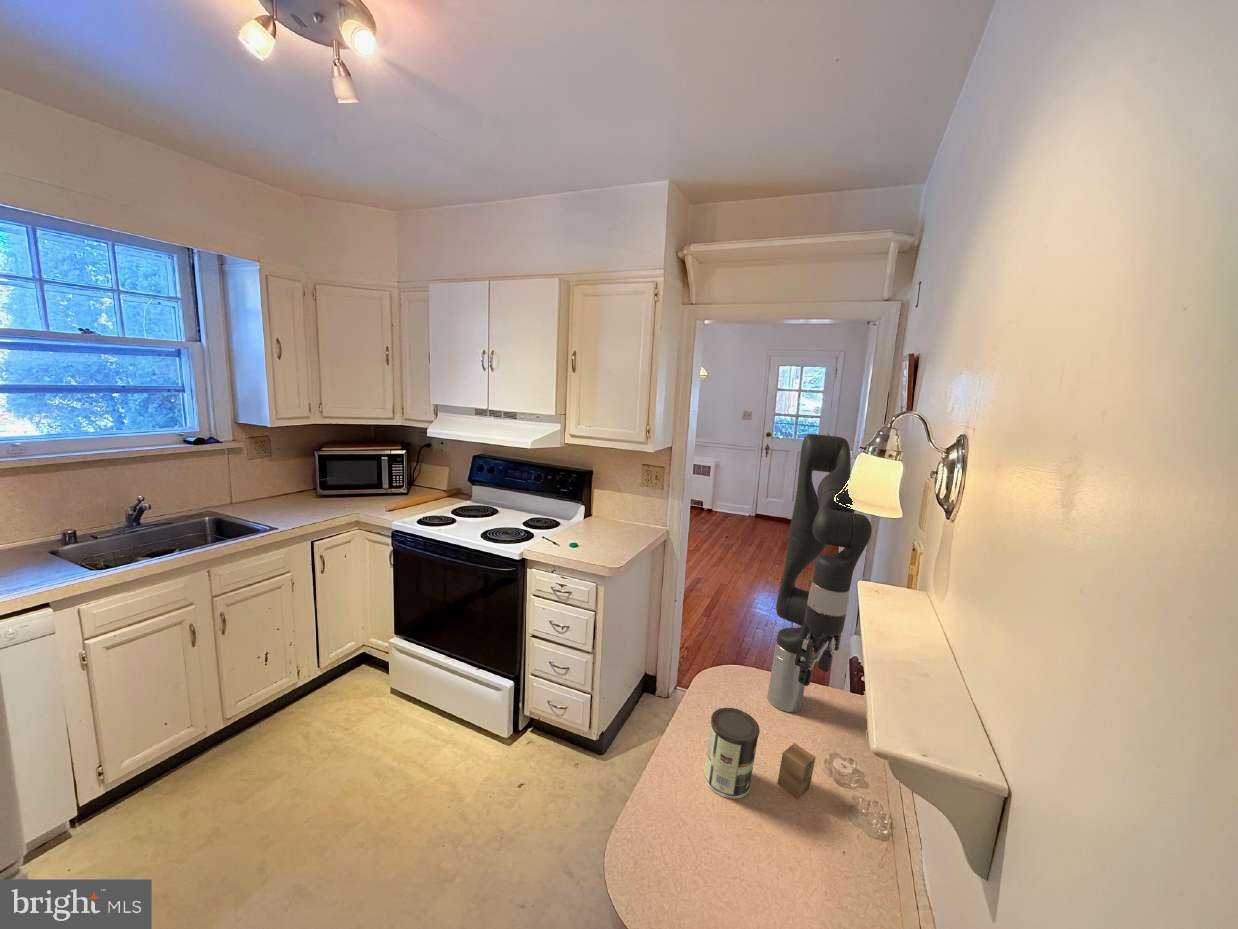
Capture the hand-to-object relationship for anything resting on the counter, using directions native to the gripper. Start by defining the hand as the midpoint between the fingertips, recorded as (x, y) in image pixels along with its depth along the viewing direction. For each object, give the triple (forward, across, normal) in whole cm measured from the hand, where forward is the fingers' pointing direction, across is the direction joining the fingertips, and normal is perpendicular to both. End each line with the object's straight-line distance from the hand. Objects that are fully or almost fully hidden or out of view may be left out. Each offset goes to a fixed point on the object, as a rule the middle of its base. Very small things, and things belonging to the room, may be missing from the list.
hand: (813, 676), depth 103 cm
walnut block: (+27, 0, 0) cm, 27 cm away
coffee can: (+27, +11, -10) cm, 31 cm away
